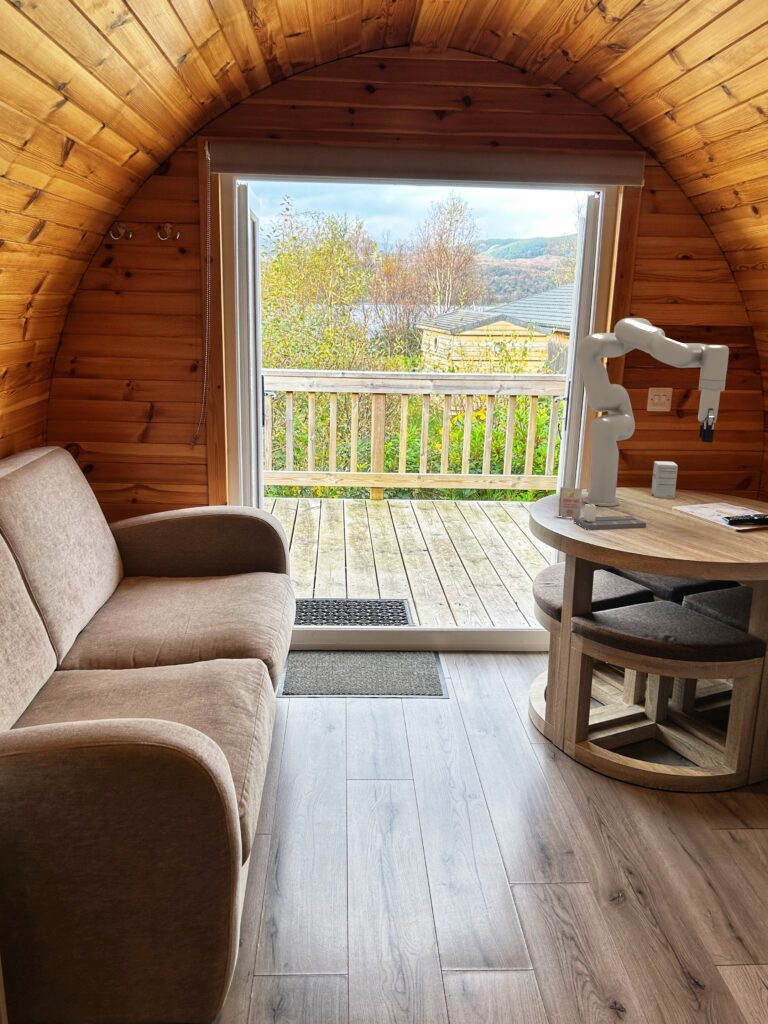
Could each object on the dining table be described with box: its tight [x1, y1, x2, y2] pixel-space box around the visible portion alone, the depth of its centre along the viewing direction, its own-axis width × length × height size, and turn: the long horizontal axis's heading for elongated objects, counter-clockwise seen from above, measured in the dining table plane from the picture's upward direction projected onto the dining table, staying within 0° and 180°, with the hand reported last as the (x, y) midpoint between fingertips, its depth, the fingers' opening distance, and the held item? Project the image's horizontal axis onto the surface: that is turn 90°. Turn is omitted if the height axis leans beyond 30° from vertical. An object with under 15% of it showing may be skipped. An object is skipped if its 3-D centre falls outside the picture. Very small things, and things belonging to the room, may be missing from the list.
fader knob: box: [583, 503, 598, 522], centre depth 255 cm, size 3×2×5 cm
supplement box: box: [650, 460, 679, 499], centre depth 301 cm, size 7×7×13 cm
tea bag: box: [557, 486, 583, 518], centre depth 266 cm, size 4×7×10 cm, turn 73°
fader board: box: [573, 515, 647, 530], centre depth 258 cm, size 10×20×2 cm, turn 102°
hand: (705, 439), depth 254 cm, fingers open, 9 cm apart
